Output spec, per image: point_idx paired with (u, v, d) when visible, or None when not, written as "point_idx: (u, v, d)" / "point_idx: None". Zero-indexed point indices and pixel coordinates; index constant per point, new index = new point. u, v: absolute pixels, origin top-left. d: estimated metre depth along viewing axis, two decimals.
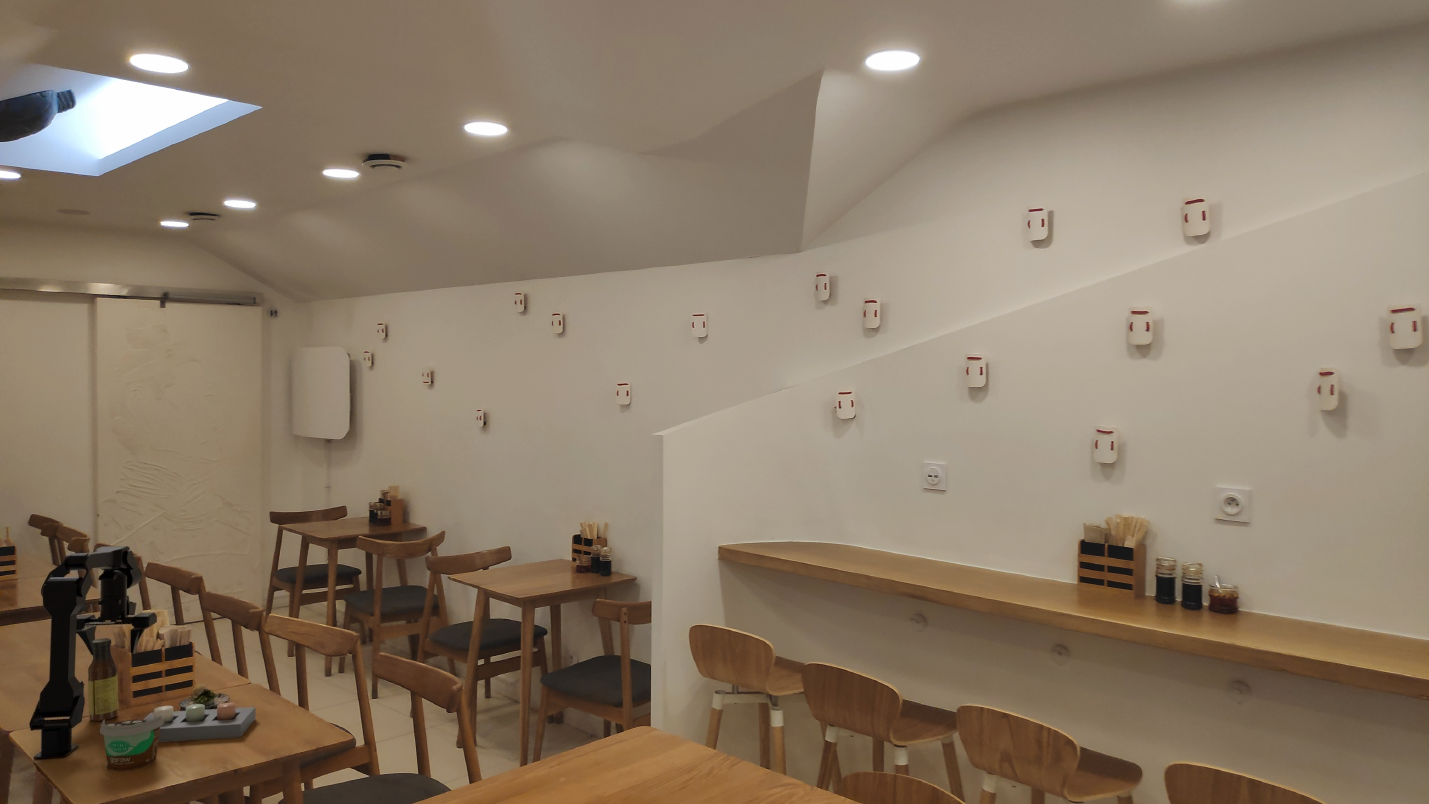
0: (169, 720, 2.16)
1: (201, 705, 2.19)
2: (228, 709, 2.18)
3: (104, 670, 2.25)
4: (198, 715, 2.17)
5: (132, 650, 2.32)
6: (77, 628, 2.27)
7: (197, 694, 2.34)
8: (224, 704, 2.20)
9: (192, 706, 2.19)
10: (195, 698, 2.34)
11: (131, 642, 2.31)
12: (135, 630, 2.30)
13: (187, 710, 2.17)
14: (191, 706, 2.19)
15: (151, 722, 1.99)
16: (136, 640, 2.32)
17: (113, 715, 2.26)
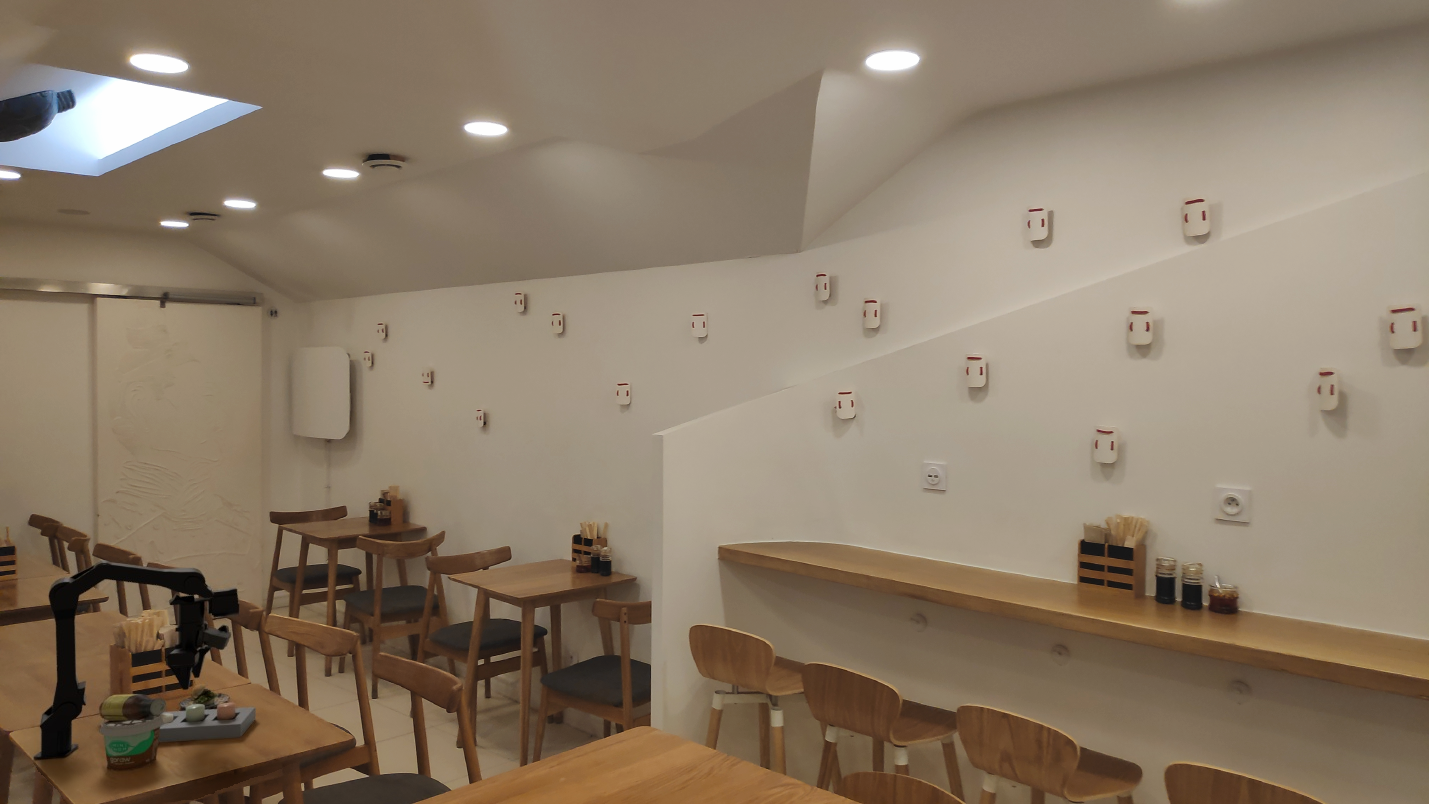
0: None
1: (201, 705, 2.19)
2: (228, 709, 2.18)
3: (137, 719, 2.19)
4: (198, 715, 2.17)
5: None
6: None
7: (197, 694, 2.34)
8: (224, 704, 2.20)
9: (192, 706, 2.19)
10: (195, 698, 2.34)
11: None
12: None
13: (187, 710, 2.17)
14: (191, 706, 2.19)
15: (151, 722, 1.99)
16: (179, 676, 2.13)
17: None
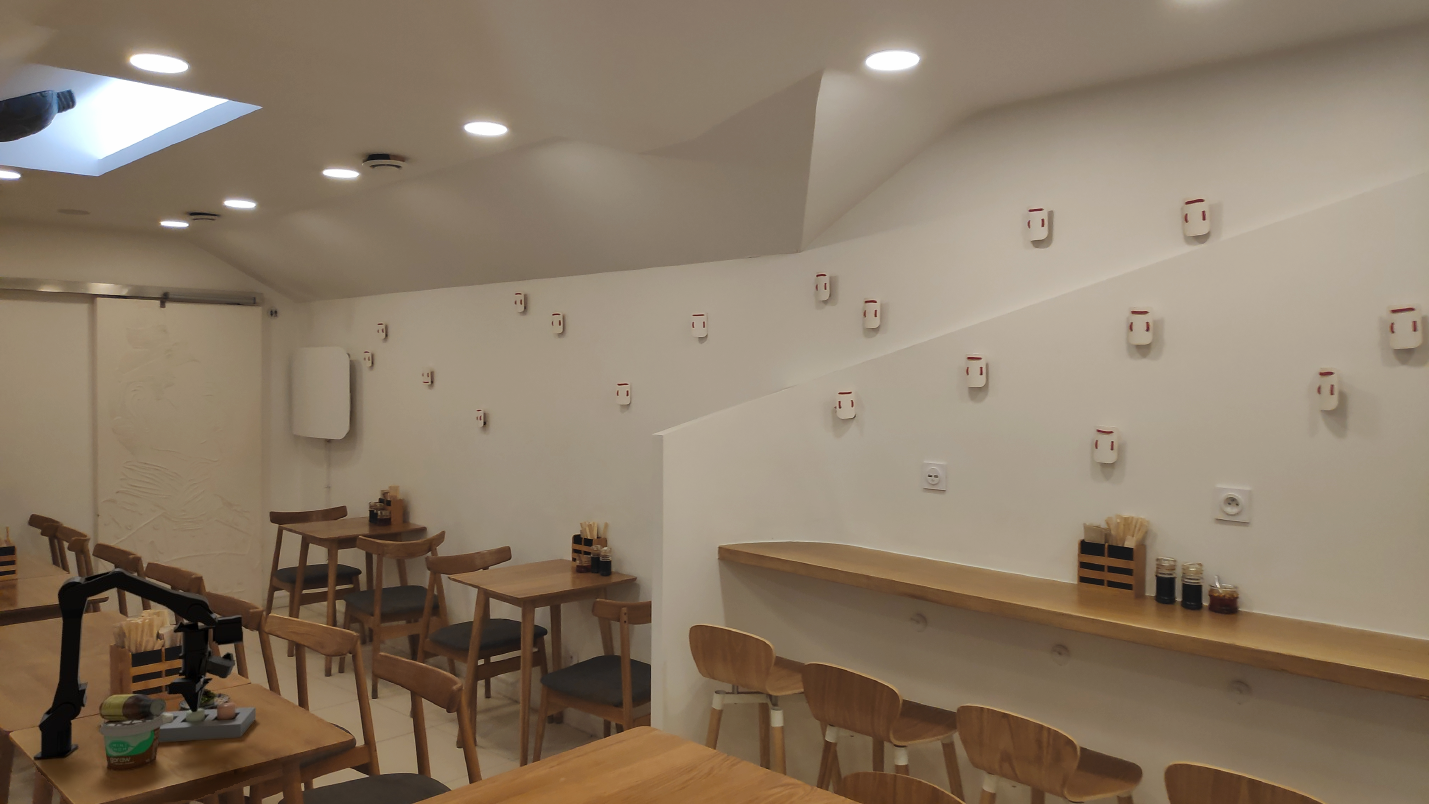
0: None
1: (201, 709, 2.19)
2: (228, 709, 2.18)
3: (137, 719, 2.19)
4: (198, 719, 2.17)
5: None
6: None
7: None
8: (224, 704, 2.20)
9: None
10: None
11: None
12: None
13: (187, 714, 2.17)
14: None
15: (151, 722, 1.99)
16: (188, 698, 2.17)
17: None
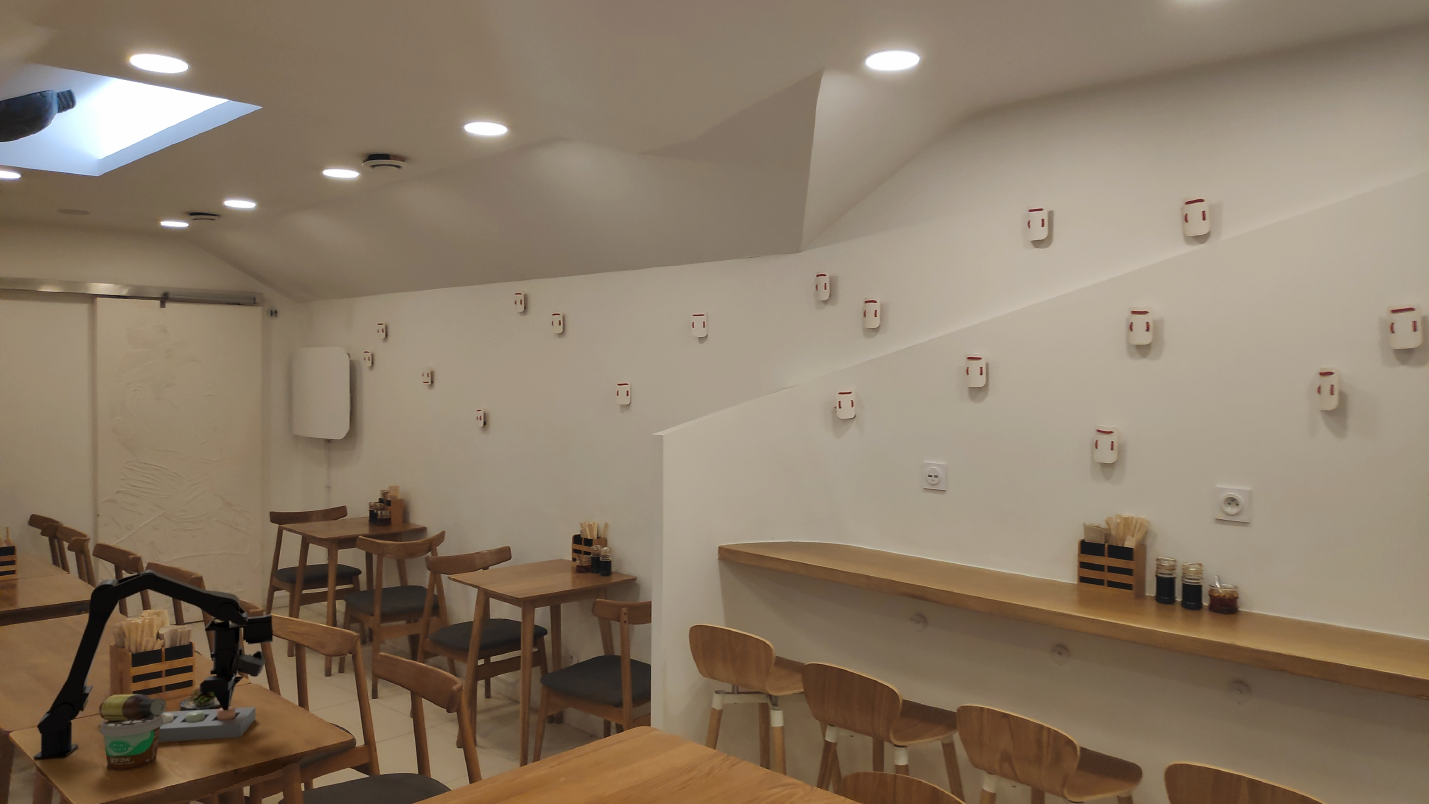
0: None
1: (201, 712, 2.19)
2: (228, 714, 2.18)
3: (137, 719, 2.19)
4: None
5: None
6: None
7: (197, 694, 2.34)
8: None
9: (192, 713, 2.19)
10: (195, 698, 2.34)
11: None
12: None
13: (187, 717, 2.17)
14: (191, 713, 2.19)
15: (151, 722, 1.99)
16: (219, 697, 2.18)
17: None
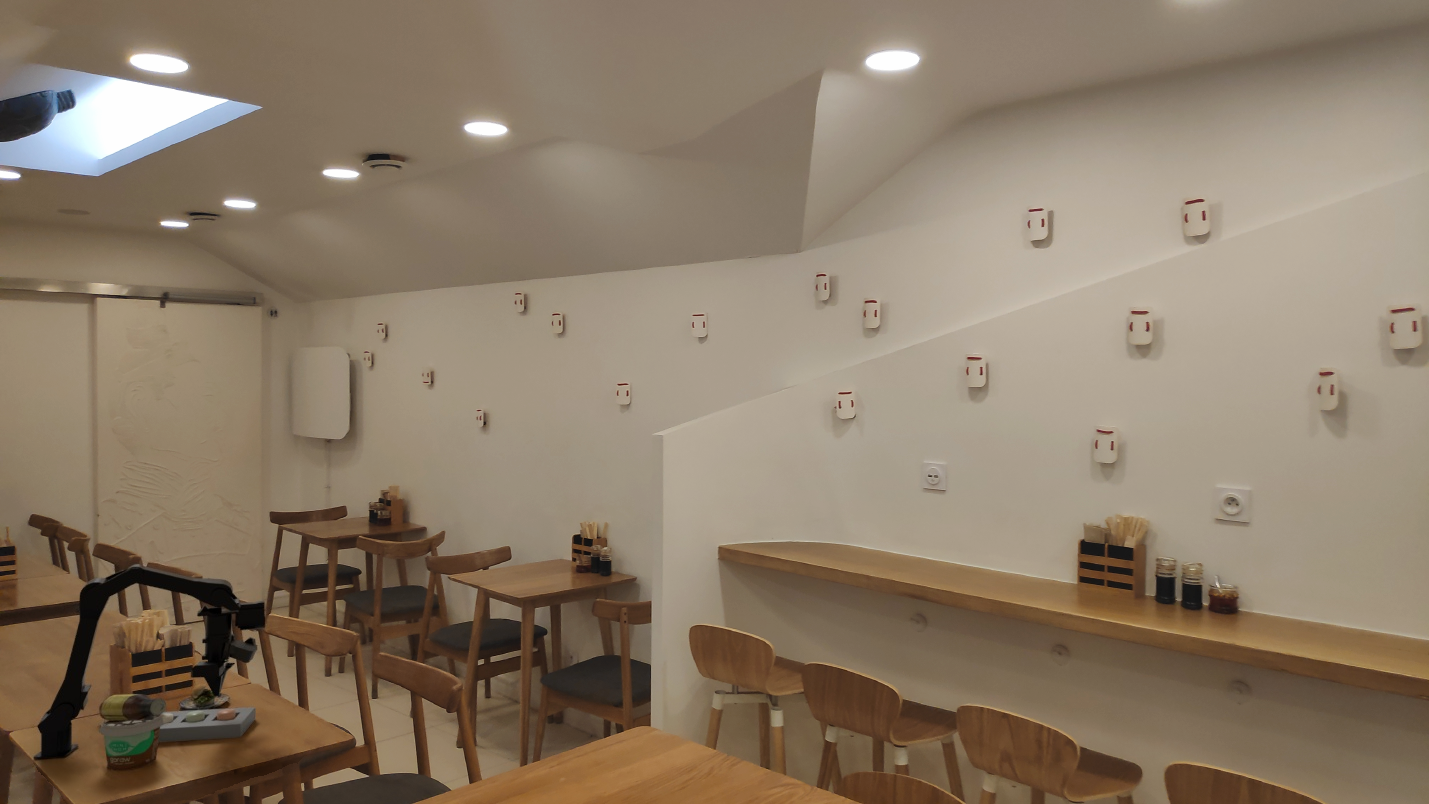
0: None
1: (201, 712, 2.19)
2: (228, 716, 2.18)
3: (137, 719, 2.19)
4: None
5: None
6: None
7: (197, 694, 2.34)
8: (224, 711, 2.20)
9: (192, 713, 2.19)
10: (195, 698, 2.34)
11: None
12: None
13: (187, 717, 2.17)
14: (191, 713, 2.19)
15: (151, 722, 1.99)
16: (210, 682, 2.18)
17: None
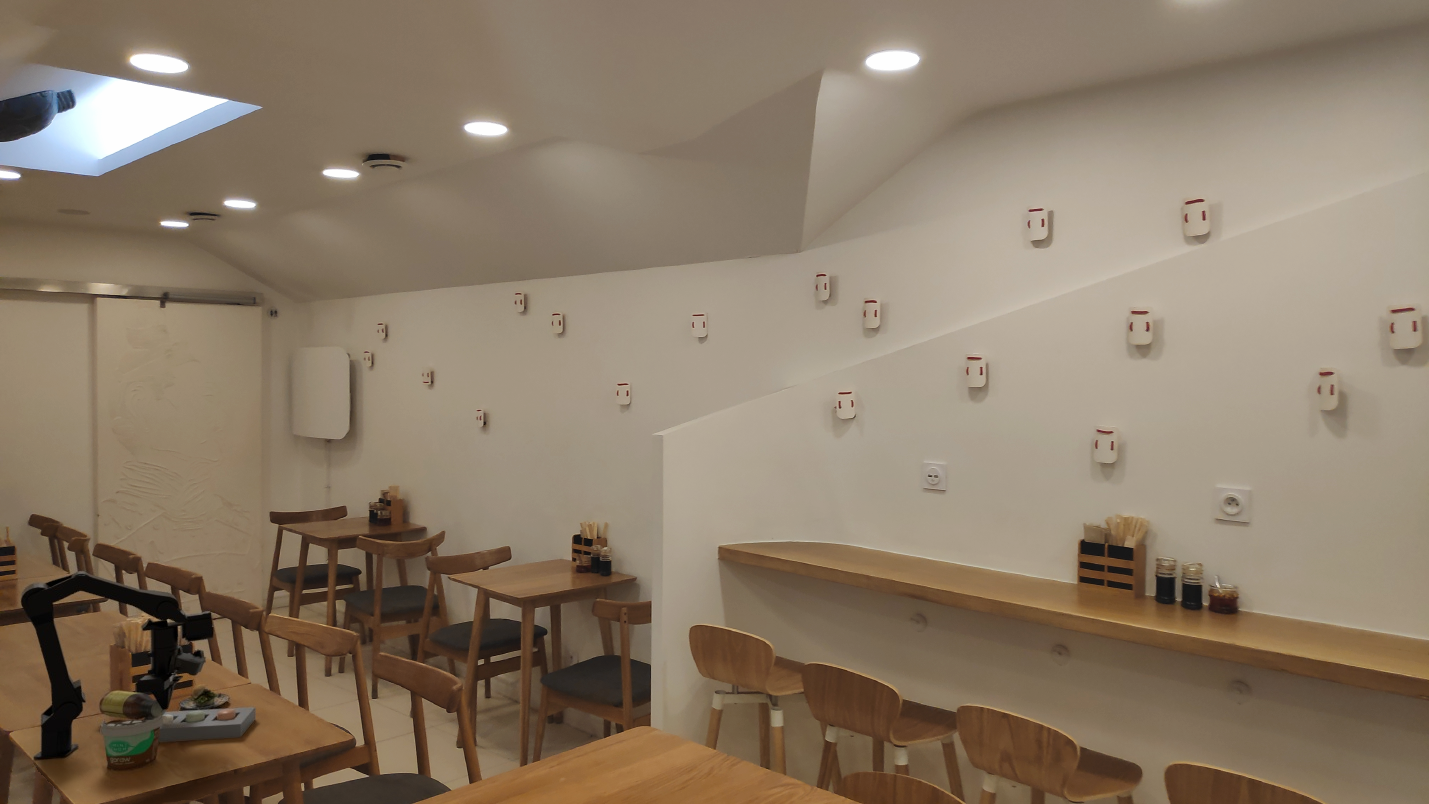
0: None
1: (201, 712, 2.19)
2: (228, 716, 2.18)
3: None
4: None
5: None
6: None
7: (197, 694, 2.34)
8: (224, 711, 2.20)
9: (192, 713, 2.19)
10: (195, 698, 2.34)
11: None
12: None
13: (187, 717, 2.17)
14: (191, 713, 2.19)
15: (151, 722, 1.99)
16: (158, 696, 2.15)
17: None
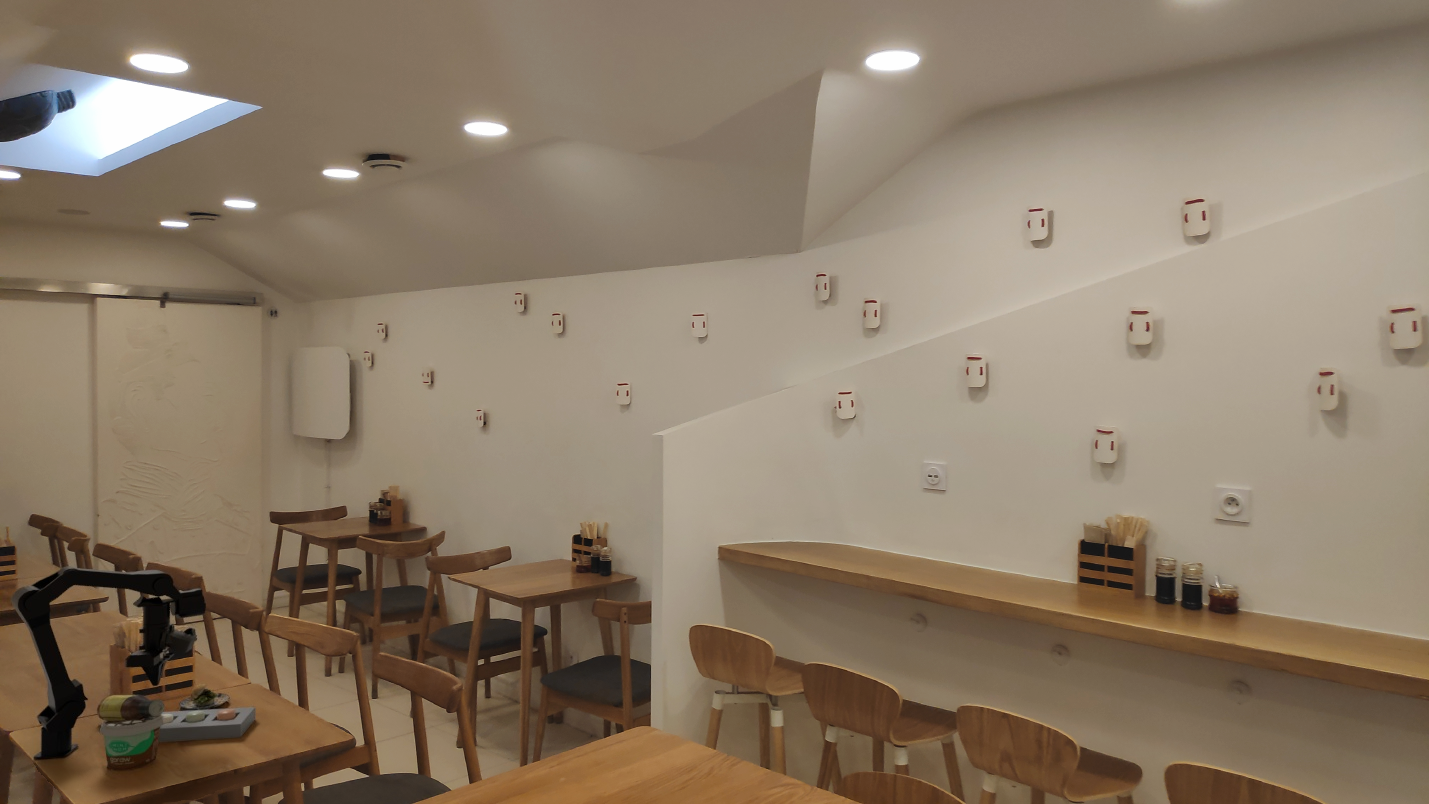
0: None
1: (201, 712, 2.19)
2: (228, 716, 2.18)
3: None
4: None
5: None
6: None
7: (197, 694, 2.34)
8: (224, 711, 2.20)
9: (192, 713, 2.19)
10: (195, 698, 2.34)
11: None
12: None
13: (187, 717, 2.17)
14: (191, 713, 2.19)
15: (151, 722, 1.99)
16: (148, 672, 2.18)
17: None
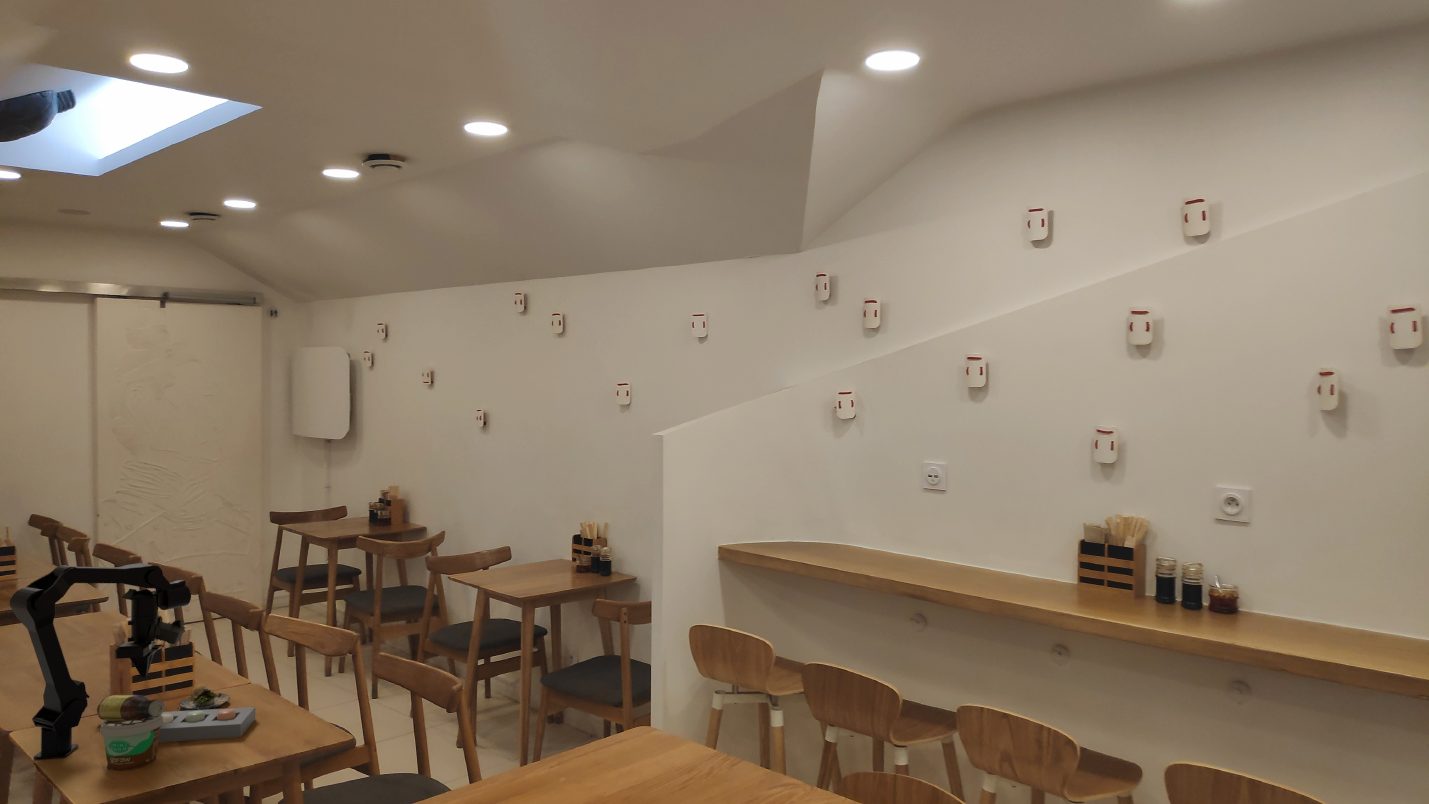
0: None
1: (201, 712, 2.19)
2: (228, 716, 2.18)
3: None
4: None
5: None
6: None
7: (197, 694, 2.34)
8: (224, 711, 2.20)
9: (192, 713, 2.19)
10: (195, 698, 2.34)
11: None
12: None
13: (187, 717, 2.17)
14: (191, 713, 2.19)
15: (151, 722, 1.99)
16: (137, 664, 2.21)
17: None
